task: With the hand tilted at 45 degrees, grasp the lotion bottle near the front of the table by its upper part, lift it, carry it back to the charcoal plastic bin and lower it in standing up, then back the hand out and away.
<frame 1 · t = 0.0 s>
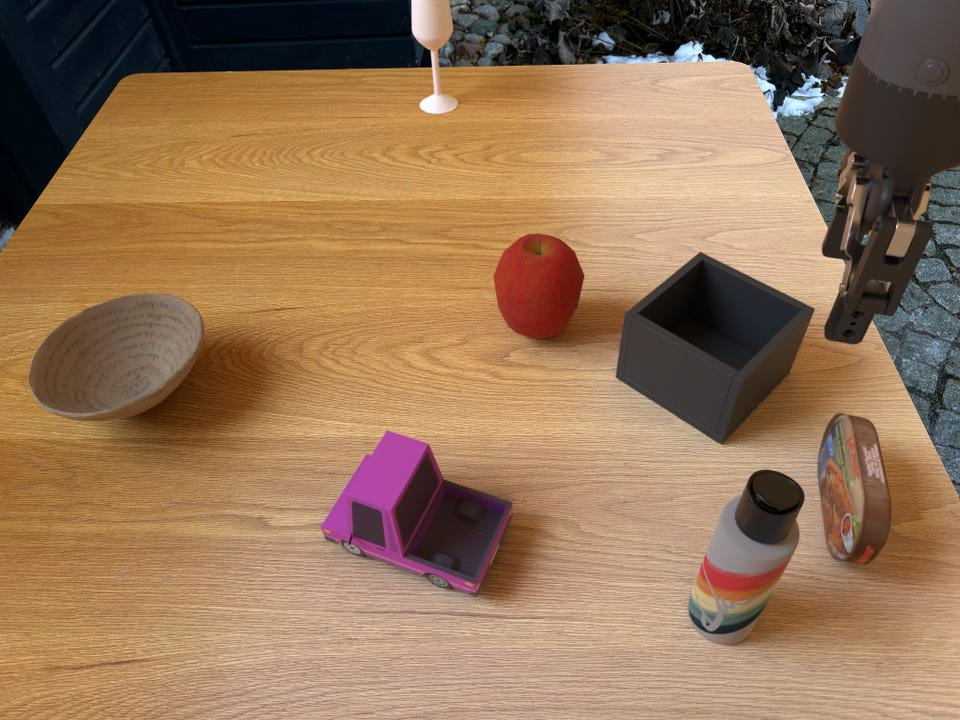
hand: (838, 294, 49), 30 cm above the table, tool pointing down, fingers open, 8 cm apart
tin: (837, 511, 73), on the table
bowl: (143, 394, 86), on the table
toy truck: (421, 536, 72), on the table
apple: (536, 328, 91), on the table
lotion bottle: (719, 615, 66), on the table
champagne flute: (438, 105, 131), on the table
bin: (702, 375, 85), on the table
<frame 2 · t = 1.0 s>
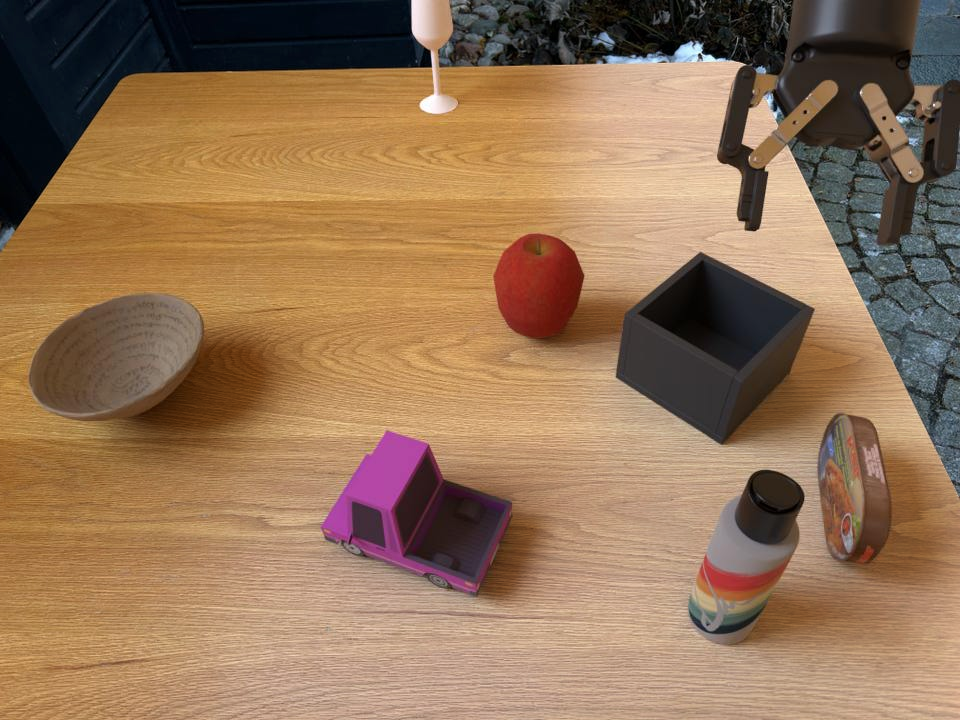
hand: (818, 237, 49), 33 cm above the table, tool tilted 45°, fingers open, 8 cm apart
nothing on the table moved.
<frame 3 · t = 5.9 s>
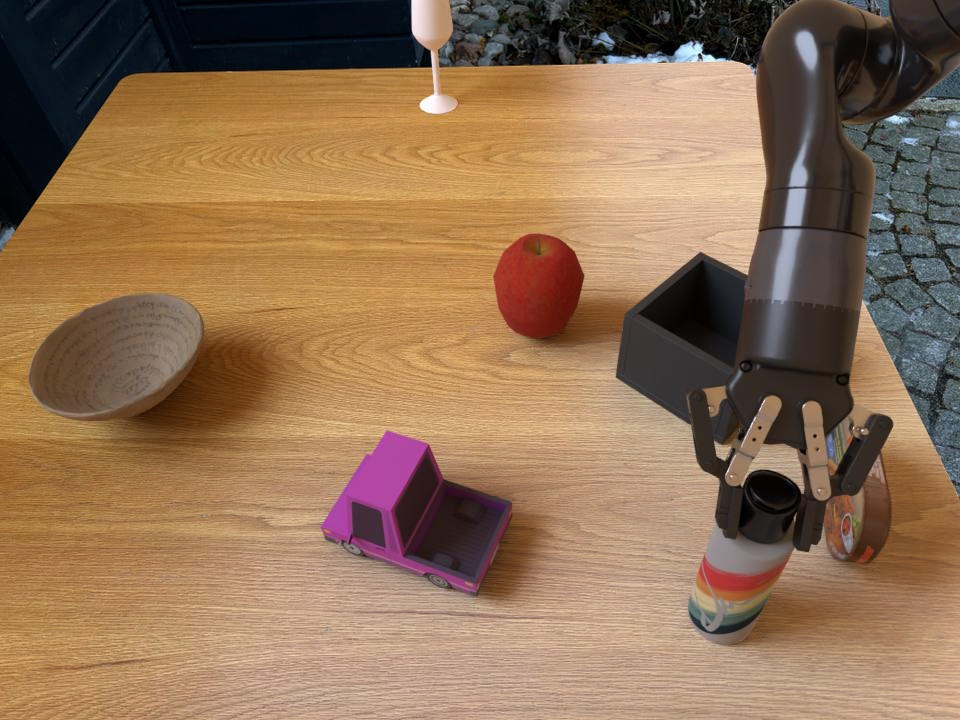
hand: (764, 541, 53), 16 cm above the table, tool tilted 45°, fingers closed on lotion bottle, 4 cm apart
lotion bottle: (719, 615, 66), on the table, touching gripper
everything else where it was.
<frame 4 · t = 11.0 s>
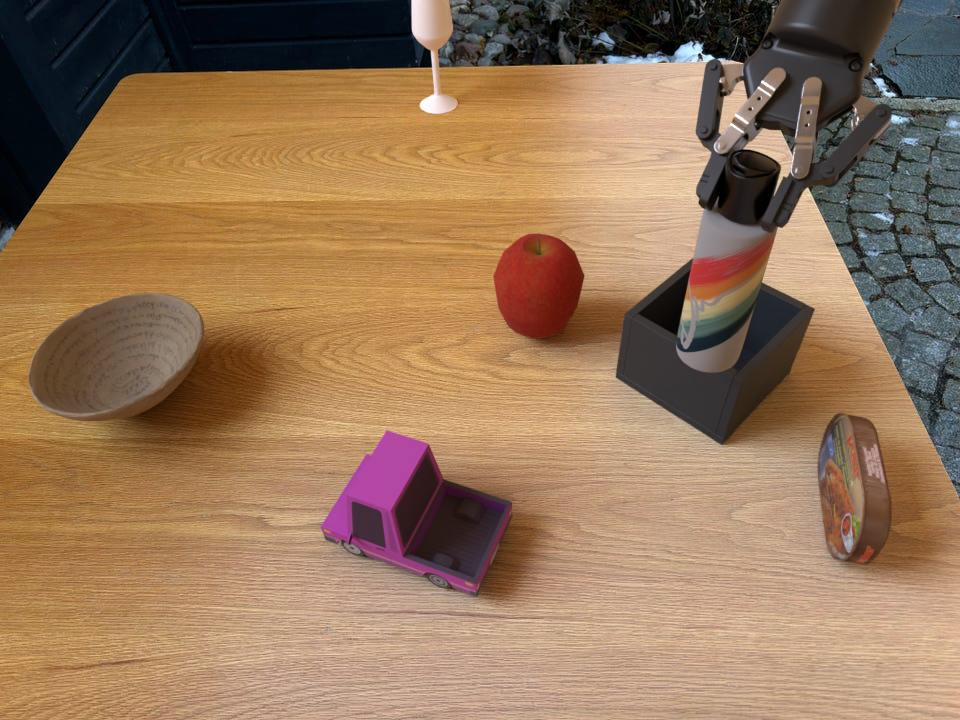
hand: (735, 217, 55), 30 cm above the table, tool tilted 45°, fingers closed on lotion bottle, 4 cm apart
lotion bottle: (706, 353, 68), point 14 cm above the table, touching gripper
everything else where it was.
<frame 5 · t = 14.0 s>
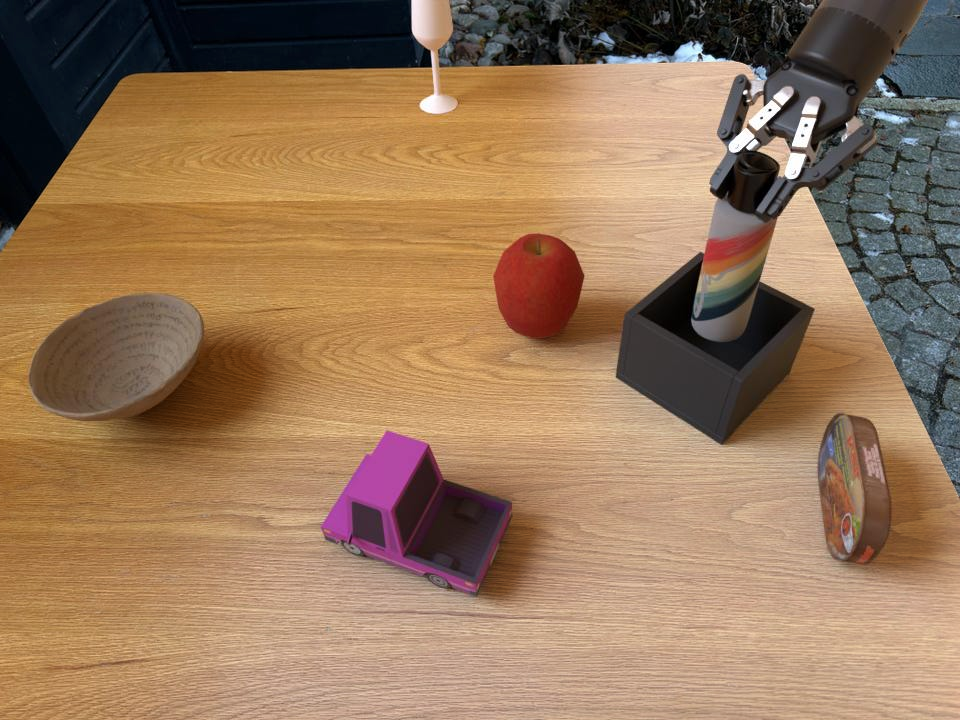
hand: (738, 206, 67), 24 cm above the table, tool tilted 45°, fingers closed on lotion bottle, 4 cm apart
lotion bottle: (717, 326, 79), point 8 cm above the table, touching gripper
everything else where it was.
when the fingers open (17 cm above the table, at t = 16.3 s): lotion bottle stays where it is, resting on bin.
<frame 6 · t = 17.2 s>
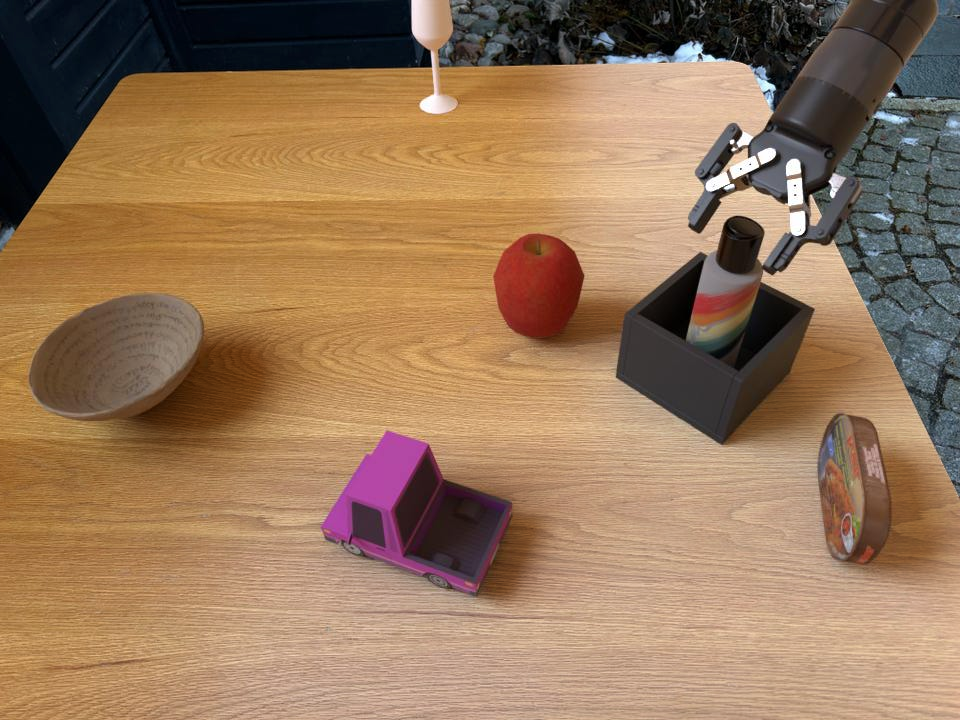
hand: (729, 250, 71), 19 cm above the table, tool tilted 45°, fingers open, 8 cm apart
lotion bottle: (705, 370, 84), point 1 cm above the table, touching bin
everything else where it was.
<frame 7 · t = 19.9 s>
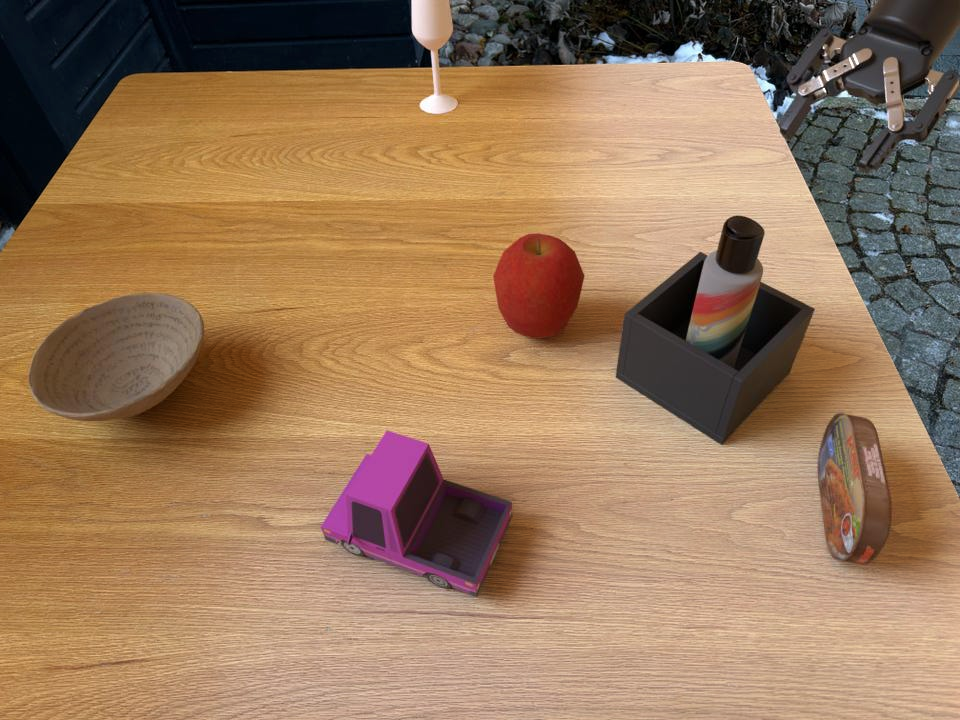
hand: (822, 152, 73), 24 cm above the table, tool tilted 45°, fingers open, 8 cm apart
nothing on the table moved.
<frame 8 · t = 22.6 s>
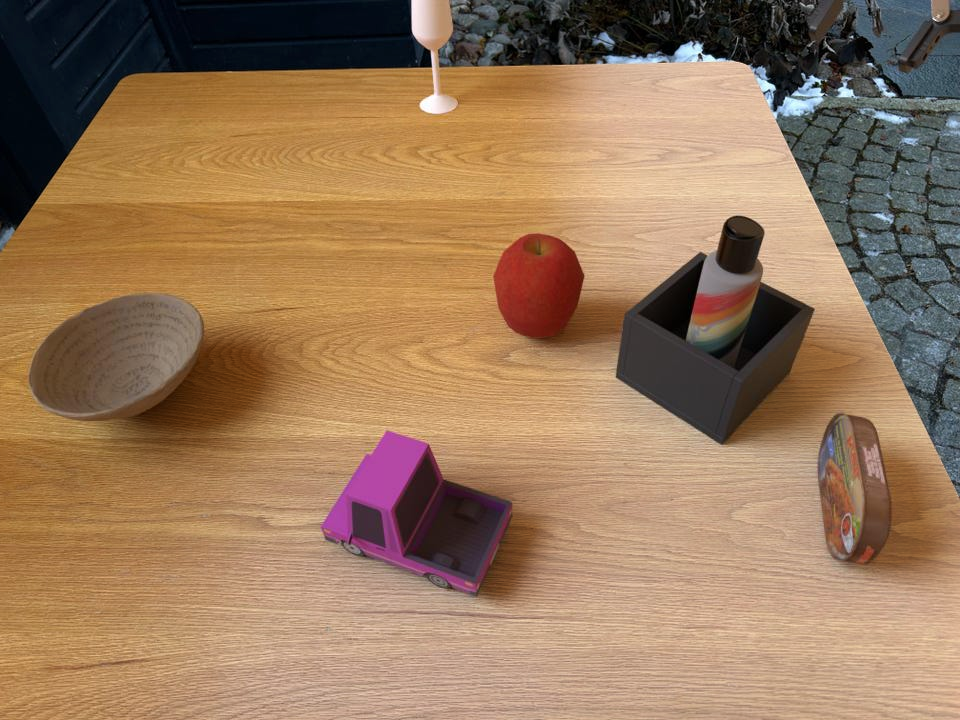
hand: (856, 52, 65), 34 cm above the table, tool tilted 45°, fingers open, 8 cm apart
nothing on the table moved.
at the end: lotion bottle inside the target area in the bin (0.2 cm from its centre), point 0.8 cm above the bin's base; the gripper is holding nothing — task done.
